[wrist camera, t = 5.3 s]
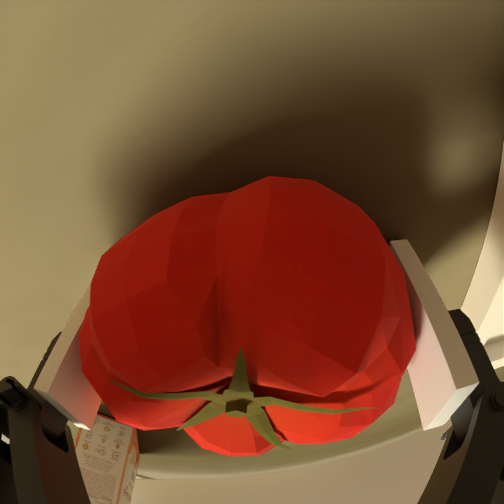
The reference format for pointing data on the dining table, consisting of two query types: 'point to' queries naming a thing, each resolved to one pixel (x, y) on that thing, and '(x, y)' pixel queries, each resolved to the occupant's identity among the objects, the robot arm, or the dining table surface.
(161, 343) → the tomato
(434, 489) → the robot arm
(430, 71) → the dining table surface
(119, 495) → the cracker box
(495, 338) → the tray
